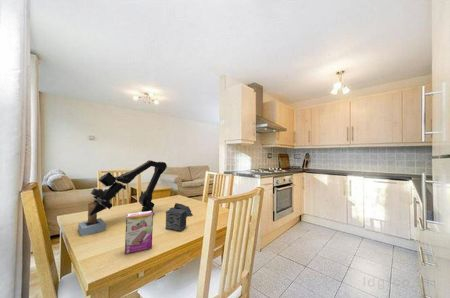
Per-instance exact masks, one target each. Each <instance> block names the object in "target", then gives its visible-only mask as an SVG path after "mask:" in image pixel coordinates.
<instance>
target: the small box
mask: <svg viewBox="0 0 450 298" xmlns="http://www.w3.org/2000/svg"><path fill="white" fill-rule="evenodd" d="M186 211H187V210H180V209H170V208H169V209H168V210H166V211H165V230H168V231H174V232H178V233H179V232H180V233H182V231H184V230H185V229H186V228H187V216H186Z"/></svg>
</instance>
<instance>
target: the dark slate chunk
mask: <svg viewBox="0 0 450 298" xmlns="http://www.w3.org/2000/svg"><path fill="white" fill-rule="evenodd" d="M170 209H180V210H187V211H186V217H192V216H194V215H193V213H191V212H192V211H191V208H190V207H189V206H188V205H184V204H183V203H178V202H176V203H174V206H173V207H170V208H169V210H170Z"/></svg>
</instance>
